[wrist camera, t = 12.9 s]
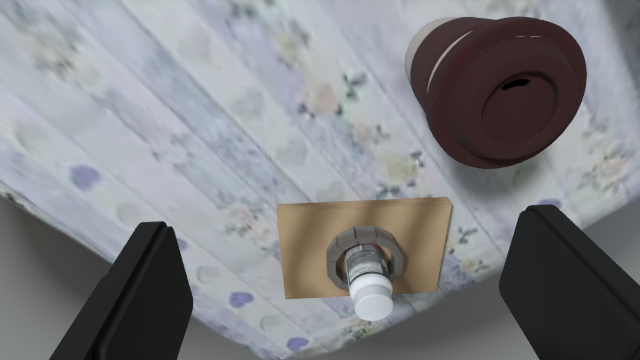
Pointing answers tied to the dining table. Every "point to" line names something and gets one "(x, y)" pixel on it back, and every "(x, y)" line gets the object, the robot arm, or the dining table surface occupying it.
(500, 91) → the coffee cup
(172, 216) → the dining table surface
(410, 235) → the ring jig
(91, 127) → the dining table surface
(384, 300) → the pill bottle
